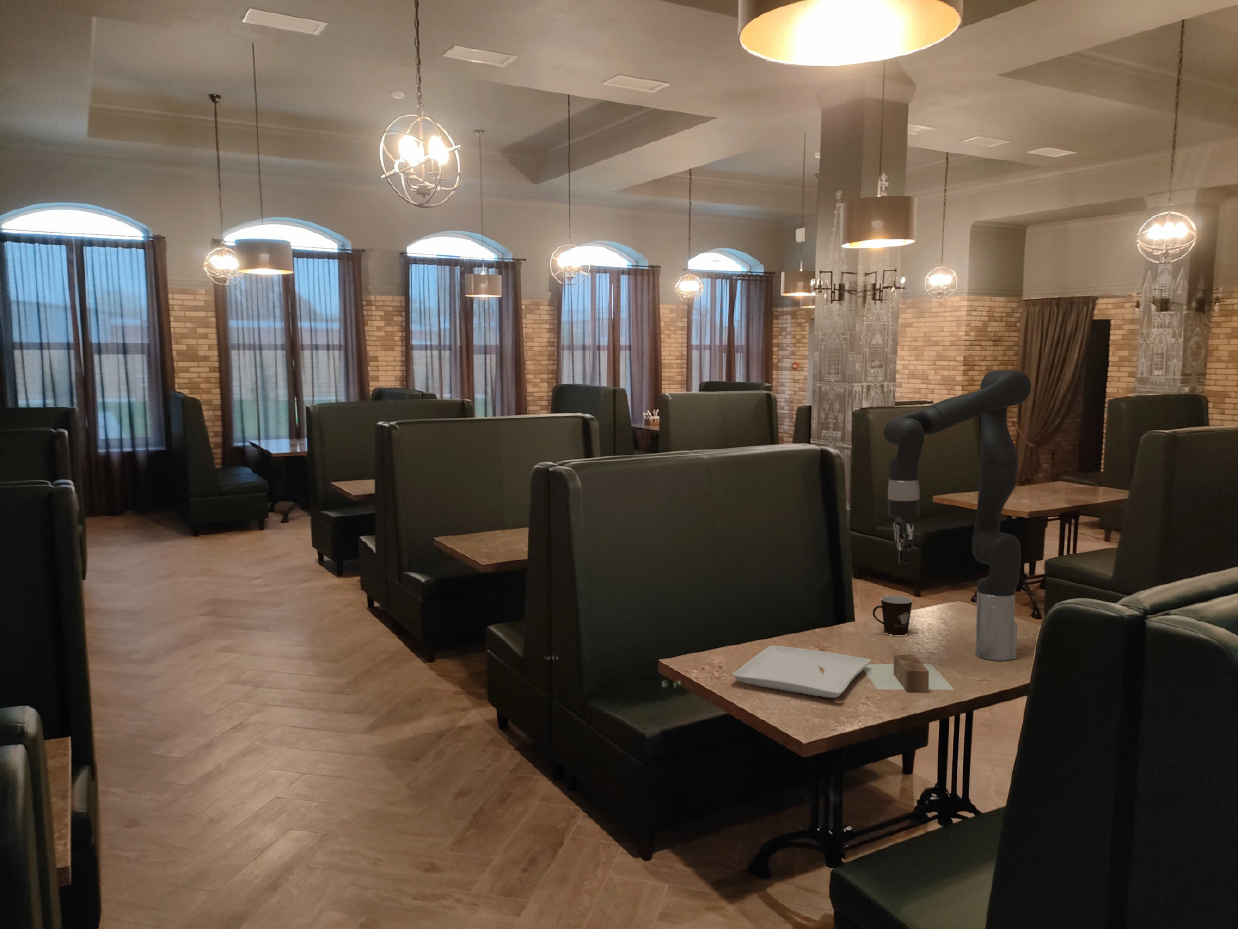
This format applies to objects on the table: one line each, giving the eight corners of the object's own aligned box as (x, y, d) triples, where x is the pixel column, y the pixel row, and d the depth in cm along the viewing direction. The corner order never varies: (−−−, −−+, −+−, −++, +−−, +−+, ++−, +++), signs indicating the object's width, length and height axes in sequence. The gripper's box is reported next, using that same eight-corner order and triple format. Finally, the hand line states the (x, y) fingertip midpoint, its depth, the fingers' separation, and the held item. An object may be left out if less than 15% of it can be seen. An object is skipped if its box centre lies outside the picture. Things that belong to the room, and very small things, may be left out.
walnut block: (914, 654, 214) (928, 671, 202) (913, 674, 215) (928, 692, 203) (893, 654, 215) (907, 671, 203) (893, 674, 215) (906, 692, 203)
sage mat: (931, 666, 222) (931, 664, 222) (954, 692, 204) (954, 689, 204) (860, 666, 223) (860, 664, 223) (876, 691, 205) (876, 689, 205)
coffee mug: (907, 629, 255) (908, 596, 254) (914, 638, 246) (915, 603, 245) (867, 628, 256) (867, 595, 255) (872, 637, 247) (873, 603, 246)
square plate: (872, 672, 220) (872, 657, 219) (840, 708, 196) (841, 691, 196) (770, 656, 234) (770, 642, 233) (730, 688, 210) (730, 672, 210)
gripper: (927, 500, 211) (926, 570, 213) (910, 493, 225) (910, 558, 226) (896, 501, 212) (896, 571, 214) (881, 493, 225) (881, 559, 227)
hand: (903, 564), depth 220 cm, fingers closed
